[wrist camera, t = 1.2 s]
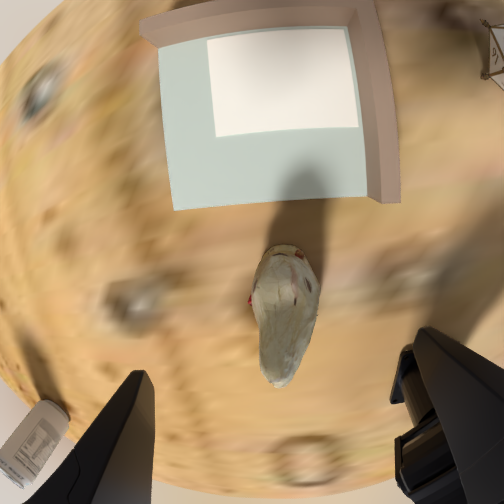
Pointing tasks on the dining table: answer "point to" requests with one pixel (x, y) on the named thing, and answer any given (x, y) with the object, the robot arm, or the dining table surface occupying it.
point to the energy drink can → (33, 443)
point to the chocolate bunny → (284, 311)
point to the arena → (275, 102)
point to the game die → (495, 54)
